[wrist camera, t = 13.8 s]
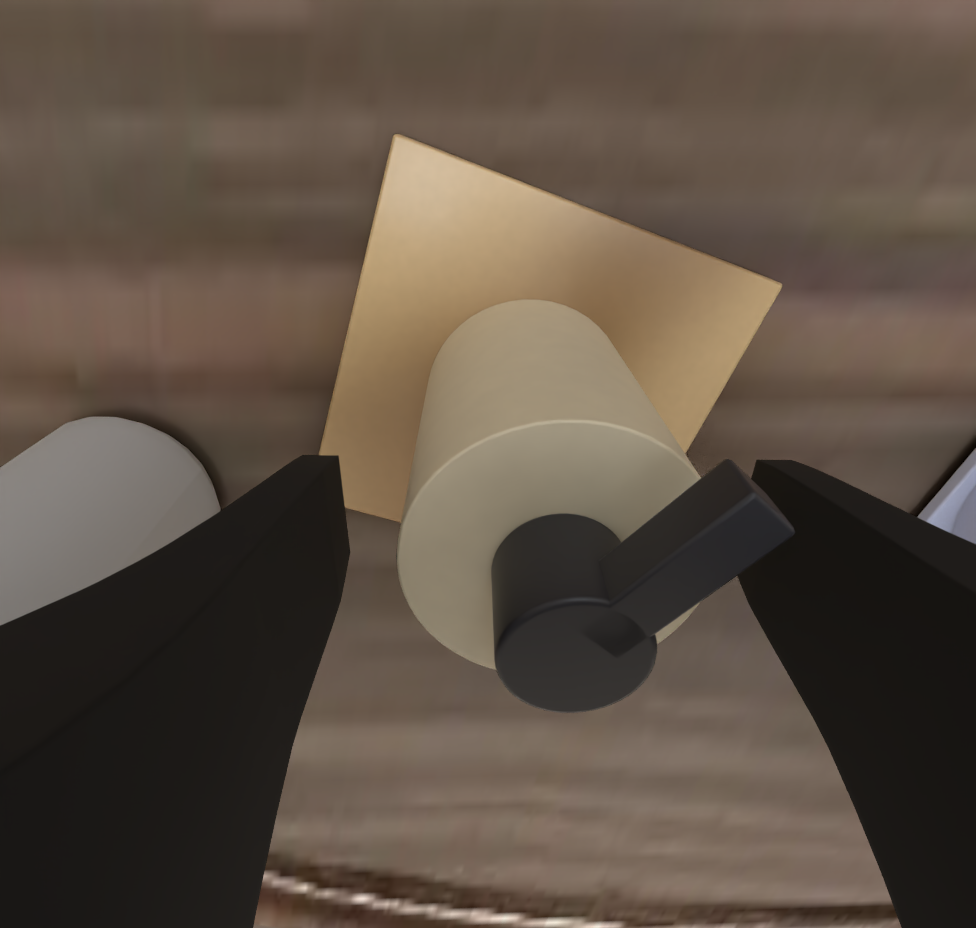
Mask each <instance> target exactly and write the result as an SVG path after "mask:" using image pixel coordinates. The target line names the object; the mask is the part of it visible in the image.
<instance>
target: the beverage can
mask: <svg viewBox="0 0 976 928" xmlns="http://www.w3.org/2000/svg"><path fill="white" fill-rule="evenodd" d="M220 510H221V508H220V505H219V502H218V499H217V496H216V493H215V490H214V487H213V484H212V481H211V479H210V478H209V476H208V474H207V472H206V470H205V469H204V467H203V465H202V464H201V463H200V461H199V460H198V459H197V458H196V457H195V456H194V455H193V454H192V453H191V452H190V451H189V449H188V448H186V447H185V446H183V445H182V444H181V443H179V442H178V441H177V440H175V439H174V438H172V437H171V436H170V435H168V434H166V433H163V432H161V431H159V430H157V429H155V428H152V427H150V426H148V425H146V424H143V423H139V422H135V421H131V420H127V419H123V418H118V417H87V418H83V419H79V420H75V421H71V422H68V423H65V424H64V425H62V426H61V427H59V428H58V429H56V430H55V431H53V432H52V433H50V434H49V435H47V436H46V437H44V438H43V439H42V440H40V441H39V442H37V443H36V444H34V445H33V446H31V447H30V448H28V449H27V450H25V451H24V452H22V453H21V454H20V455H18V456H17V457H15V458H14V459H12V460H11V461H9V462H8V463H6V464H5V465H3V466H2V467H0V625H2V624H5V623H7V622H10V621H12V620H14V619H16V618H19V617H21V616H23V615H25V614H28V613H30V612H32V611H34V610H37V609H39V608H41V607H43V606H46V605H48V604H50V603H53V602H55V601H57V600H59V599H62V598H64V597H66V596H68V595H71V594H73V593H75V592H77V591H80V590H82V589H84V588H86V587H88V586H90V585H92V584H94V583H96V582H99V581H101V580H102V579H104V578H106V577H108V576H110V575H112V574H114V573H116V572H118V571H120V570H122V569H124V568H126V567H128V566H130V565H132V564H133V563H135V562H137V561H139V560H141V559H143V558H144V557H146V556H148V555H150V554H152V553H154V552H155V551H157V550H159V549H160V548H162V547H164V546H166V545H167V544H169V543H171V542H172V541H174V540H175V539H177V538H179V537H180V536H182V535H183V534H185V533H187V532H188V531H190V530H191V529H193V528H194V527H196V526H198V525H199V524H201V523H202V522H204V521H206V520H207V519H209V518H210V517H212V516H214V515H215V514H217V513H218V512H220Z"/></svg>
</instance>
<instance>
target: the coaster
mask: <svg viewBox="0 0 976 928" xmlns="http://www.w3.org/2000/svg"><path fill="white" fill-rule="evenodd" d="M781 288H782V284H781V283H779V282H777V281H775V280H773V279H771V278H768V277H765V276H763V275H760V274H758V273H755V272H753V271H750V270H747V269H745V268H742V267H740V266H737V265H735V264H732V263H729V262H727V261H724V260H722V259H719V258H717V257H714V256H711V255H709V254H706V253H704V252H701V251H699V250H696V249H694V248H691V247H688V246H686V245H683V244H681V243H678V242H676V241H673V240H670V239H668V238H665V237H663V236H660V235H658V234H655V233H652V232H650V231H647V230H645V229H642V228H640V227H637V226H635V225H632V224H629V223H627V222H624V221H622V220H619V219H617V218H614V217H611V216H609V215H606V214H604V213H601V212H599V211H596V210H593V209H591V208H588V207H586V206H583V205H581V204H578V203H576V202H573V201H570V200H568V199H565V198H563V197H560V196H558V195H555V194H552V193H550V192H547V191H545V190H542V189H540V188H537V187H534V186H532V185H529V184H527V183H524V182H522V181H519V180H516V179H514V178H511V177H509V176H506V175H504V174H501V173H499V172H496V171H493V170H491V169H488V168H486V167H483V166H481V165H478V164H475V163H473V162H470V161H468V160H465V159H463V158H460V157H457V156H455V155H452V154H450V153H447V152H445V151H442V150H440V149H437V148H434V147H432V146H429V145H427V144H424V143H422V142H419V141H416V140H414V139H411V138H409V137H406V136H404V135H401V134H395V135H394V136H393V139H392V143H391V147H390V151H389V156H388V160H387V164H386V169H385V173H384V177H383V181H382V186H381V190H380V194H379V198H378V203H377V207H376V211H375V215H374V220H373V224H372V228H371V233H370V237H369V241H368V245H367V250H366V254H365V258H364V262H363V267H362V271H361V275H360V279H359V284H358V288H357V292H356V297H355V301H354V305H353V309H352V314H351V318H350V322H349V326H348V331H347V335H346V339H345V344H344V348H343V352H342V356H341V361H340V365H339V369H338V373H337V378H336V382H335V386H334V390H333V395H332V399H331V403H330V408H329V412H328V416H327V420H326V425H325V429H324V433H323V437H322V442H321V446H320V450H319V454H318V455H339V463H340V471H341V479H342V488H343V496H344V505H345V508H348V509H352V510H356V511H359V512H363V513H367V514H371V515H374V516H378V517H382V518H386V519H389V520H393V521H397V522H400V523H401V520H402V515H403V510H404V505H405V499H406V494H407V489H408V484H409V479H410V473H411V468H412V463H413V458H414V453H415V447H416V442H417V437H418V432H419V427H420V421H421V416H422V411H423V406H424V401H425V395H426V390H427V385H428V380H429V376H430V372H431V368H432V365H433V363H434V360H435V358H436V356H437V354H438V352H439V350H440V349H441V347H442V345H443V344H444V343H445V341H446V340H447V339H448V337H449V336H450V335H451V334H452V333H453V332H454V331H455V330H456V329H457V328H458V327H459V326H460V325H461V324H462V323H464V322H465V321H466V320H468V319H469V318H470V317H472V316H473V315H475V314H477V313H479V312H481V311H482V310H484V309H487V308H489V307H492V306H494V305H497V304H501V303H505V302H509V301H515V300H524V299H527V300H544V301H551V302H555V303H558V304H562V305H565V306H567V307H570V308H572V309H574V310H576V311H578V312H580V313H581V314H583V315H585V316H586V317H588V318H589V319H590V320H592V321H593V322H594V323H595V324H596V325H598V326H599V327H600V329H601V330H602V331H603V332H604V333H605V334H606V335H607V337H608V338H609V340H610V341H611V343H612V344H613V346H614V347H615V349H616V350H617V352H618V353H619V355H620V356H621V358H622V359H623V361H624V362H625V364H626V365H627V367H628V368H629V370H630V371H631V373H632V374H633V376H634V377H635V379H636V380H637V382H638V383H639V385H640V387H641V388H642V390H643V391H644V393H645V394H646V396H647V397H648V399H649V400H650V402H651V403H652V405H653V406H654V408H655V409H656V411H657V412H658V414H659V415H660V417H661V418H662V420H663V421H664V423H665V424H666V426H667V427H668V429H669V430H670V432H671V433H672V435H673V436H674V438H675V439H676V441H677V442H678V444H679V445H680V447H681V449H682V450H683V452H684V453H685V454H686V452H687V450H688V448H689V447H690V445H691V443H692V442H693V440H694V438H695V436H696V435H697V433H698V431H699V430H700V428H701V426H702V424H703V423H704V421H705V419H706V418H707V416H708V414H709V412H710V411H711V409H712V407H713V405H714V404H715V402H716V400H717V399H718V397H719V395H720V393H721V392H722V390H723V388H724V387H725V385H726V383H727V381H728V380H729V378H730V376H731V375H732V373H733V371H734V369H735V368H736V366H737V364H738V362H739V361H740V359H741V357H742V356H743V354H744V352H745V350H746V349H747V347H748V345H749V344H750V342H751V340H752V338H753V337H754V335H755V333H756V331H757V330H758V328H759V326H760V325H761V323H762V321H763V319H764V318H765V316H766V314H767V313H768V311H769V309H770V307H771V306H772V304H773V302H774V301H775V299H776V297H777V295H778V294H779V292H780V290H781Z"/></svg>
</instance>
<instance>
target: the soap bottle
mask: <svg viewBox="0 0 976 928" xmlns="http://www.w3.org/2000/svg"><path fill="white" fill-rule="evenodd" d="M794 534H795V530H794V527H793V526H792V525H791V523H790V522H789V521H788V520H787V518H786V517H785V516H784V515H783V514H782V512H781V511H780V510H779V509H778V507H777V506H776V505H775V504H774V502H773V501H772V500H771V499H770V498H769V496H768V495H767V494H766V493H765V492H764V491H763V490H762V489H761V488H760V487H759V486H758V485H757V484H756V483H755V482H754V481H753V480H752V479H751V478H750V477H749V476H748V475H746V474H745V473H744V472H743V471H742V470H741V469H740V468H739V467H738V466H737V465H736V464H735V463H734V462H733V461H732V460H729V459H725V460H723V461H722V462H720V463H719V464H718V465H717V466H715V467H714V468H713V469H712V470H711V471H709V472H708V473H707V474H706V475H704V476H703V477H702V478H701V477H700V476H699V474H698V473H697V471H696V470H695V468H694V467H693V465H692V464H691V462H690V461H689V459H688V458H687V456H686V455H685V453H684V452H683V450H682V449H681V447H680V445H679V444H678V442H677V441H676V439H675V438H674V436H673V435H672V433H671V432H670V430H669V429H668V427H667V426H666V424H665V423H664V421H663V420H662V418H661V417H660V415H659V414H658V412H657V411H656V409H655V408H654V406H653V405H652V403H651V402H650V400H649V399H648V397H647V396H646V394H645V393H644V391H643V390H642V388H641V387H640V385H639V383H638V382H637V380H636V379H635V377H634V376H633V374H632V373H631V371H630V370H629V368H628V367H627V365H626V364H625V362H624V361H623V359H622V358H621V356H620V355H619V353H618V352H617V350H616V349H615V347H614V346H613V344H612V343H611V341H610V340H609V338H608V337H607V335H606V334H605V333H604V332H603V331H602V330H601V329H600V327H599V326H598V325H596V324H595V323H594V322H593V321H592V320H590V319H589V318H588V317H586V316H585V315H583V314H581V313H580V312H578V311H576V310H574V309H572V308H570V307H567V306H565V305H562V304H558V303H555V302H551V301H544V300H527V299H524V300H515V301H509V302H505V303H501V304H497V305H494V306H492V307H489V308H487V309H484V310H482V311H481V312H479V313H477V314H475V315H473V316H472V317H470V318H469V319H468V320H466V321H465V322H464V323H462V324H461V325H460V326H459V327H458V328H457V329H456V330H455V331H454V332H453V333H452V334H451V335H450V336H449V337H448V339H447V340H446V341H445V343H444V344H443V345H442V347H441V349H440V350H439V352H438V354H437V356H436V358H435V360H434V363H433V365H432V368H431V372H430V376H429V380H428V385H427V390H426V395H425V401H424V406H423V411H422V416H421V421H420V427H419V432H418V437H417V442H416V447H415V453H414V458H413V463H412V468H411V473H410V479H409V484H408V489H407V494H406V499H405V505H404V510H403V515H402V520H401V525H400V530H399V536H398V543H397V554H396V558H397V571H398V576H399V580H400V584H401V588H402V591H403V593H404V595H405V598H406V600H407V602H408V605H409V606H410V608H411V610H412V611H413V613H414V614H415V616H416V618H417V619H418V620H419V622H420V623H421V624H422V625H423V626H424V627H425V629H426V630H427V631H428V632H429V633H430V634H431V635H432V636H433V637H435V638H436V639H437V640H438V641H439V642H440V643H442V644H443V645H444V646H446V647H447V648H449V649H450V650H452V651H453V652H455V653H456V654H458V655H460V656H462V657H464V658H466V659H468V660H470V661H472V662H475V663H477V664H479V665H482V666H484V667H488V668H491V669H495V670H497V673H498V675H499V677H500V679H501V681H502V682H503V684H504V685H505V687H506V688H507V689H508V690H509V691H510V692H511V693H512V694H513V695H514V696H515V697H517V698H518V699H519V700H521V701H523V702H525V703H526V704H528V705H531V706H533V707H536V708H539V709H543V710H546V711H552V712H560V713H578V712H586V711H592V710H596V709H600V708H604V707H606V706H609V705H612V704H614V703H616V702H618V701H620V700H622V699H624V698H625V697H627V696H629V695H630V694H631V693H633V692H634V691H635V690H637V689H638V688H639V687H640V686H641V685H642V684H643V682H644V681H645V680H646V679H647V678H648V676H649V674H650V673H651V671H652V668H653V666H654V664H655V659H656V654H657V644H658V643H660V642H661V641H662V640H664V639H665V638H666V637H667V636H669V635H670V634H671V633H673V632H674V631H675V630H676V629H677V628H678V627H679V626H680V625H681V624H682V623H683V622H684V621H685V620H686V619H687V618H688V617H689V616H690V615H691V613H692V612H693V611H694V610H695V608H696V607H697V606H698V605H699V603H700V602H701V601H702V600H704V599H705V598H706V597H708V596H709V595H711V594H712V593H713V592H715V591H716V590H718V589H719V588H720V587H722V586H723V585H725V584H726V583H727V582H729V581H730V580H732V579H733V578H734V577H736V576H737V575H739V574H740V573H741V572H743V571H744V570H746V569H747V568H749V567H750V566H751V565H753V564H754V563H756V562H757V561H758V560H760V559H761V558H763V557H764V556H765V555H767V554H768V553H770V552H771V551H772V550H774V549H775V548H777V547H778V546H779V545H781V544H782V543H784V542H785V541H786V540H788V539H789V538H791V537H792V536H793V535H794Z"/></svg>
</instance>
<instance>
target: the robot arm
mask: <svg viewBox="0 0 976 928" xmlns="http://www.w3.org/2000/svg"><path fill="white" fill-rule="evenodd" d="M751 479H752V480H753V481H754V482H755V483H756V484H757V485H758V486H759V487H760V488H761V489H762V490H763V491H764V492H765V493H766V494H767V495H768V496H769V498H770V499H771V500H772V501H773V502H774V504H775V505H776V506H777V507H778V509H779V510H780V511H781V512H782V514H783V515H784V516H785V517H786V518H787V520H788V521H789V522H790V523H791V525H792V526H793V527H794V530H795V534H794V535H793V536H792V537H791V538H789V539H788V540H786V541H785V542H784V543H782V544H781V545H779V546H778V547H777V548H775V549H774V550H772V551H771V552H770V553H768V554H767V555H765V556H764V557H763V558H761V559H760V560H758V561H757V562H756V563H754V564H753V565H751V566H750V567H749V568H747V569H746V570H744V571H743V572H741V573H740V574H739V575H738V578H739V581H740V584H741V586H742V588H743V591H744V593H745V596H746V598H747V601H748V603H749V605H750V607H751V609H752V611H753V612H754V614H755V616H756V618H757V620H758V622H759V623H760V625H761V627H762V629H763V631H764V632H765V634H766V636H767V638H768V640H769V641H770V643H771V645H772V647H773V648H774V650H775V652H776V654H777V655H778V657H779V659H780V661H781V662H782V664H783V666H784V668H785V669H786V671H787V673H788V675H789V676H790V678H791V680H792V682H793V683H794V685H795V687H796V689H797V690H798V692H799V694H800V696H801V697H802V699H803V701H804V703H805V704H806V706H807V708H808V710H809V711H810V713H811V715H812V717H813V718H814V720H815V722H816V724H817V726H818V728H819V730H820V732H821V734H822V736H823V738H824V740H825V742H826V744H827V746H828V748H829V750H830V752H831V755H832V757H833V759H834V761H835V764H836V766H837V768H838V770H839V773H840V775H841V777H842V780H843V782H844V784H845V786H846V789H847V791H848V793H849V795H850V798H851V800H852V802H853V804H854V807H855V809H856V812H857V814H858V817H859V819H860V822H861V824H862V826H863V829H864V831H865V834H866V836H867V839H868V841H869V844H870V846H871V849H872V851H873V854H874V856H875V858H876V861H877V863H878V866H879V868H880V871H881V873H882V876H883V878H884V881H885V884H886V886H887V889H888V892H889V895H890V897H891V900H892V903H893V905H894V908H895V911H896V914H897V916H898V919H899V922H900V924H901V927H902V928H976V448H975V449H974V451H973V452H972V453H971V454H970V455H969V456H968V458H967V459H966V460H965V461H964V462H963V464H962V465H961V466H960V467H959V468H958V469H957V471H956V472H955V473H954V474H953V475H952V476H951V478H950V479H949V480H948V481H947V482H946V484H945V485H944V486H943V487H942V488H941V489H940V491H939V492H938V493H937V494H936V495H935V496H934V498H933V499H932V500H931V501H930V502H929V503H928V505H927V506H926V507H925V508H924V509H923V511H922V512H921V513H920V514H919V515H918V516H917V517H915V516H913V515H911V514H909V513H907V512H905V511H903V510H901V509H899V508H897V507H894V506H892V505H890V504H888V503H886V502H884V501H882V500H880V499H878V498H876V497H874V496H872V495H870V494H868V493H866V492H864V491H862V490H860V489H857V488H855V487H853V486H851V485H849V484H847V483H845V482H843V481H841V480H839V479H837V478H834V477H832V476H830V475H828V474H826V473H823V472H821V471H819V470H817V469H814V468H812V467H809V466H807V465H804V464H801V463H798V462H796V461H792V460H757V461H756V464H755V468H754V471H753V475H752V478H751ZM349 555H350V547H349V539H348V530H347V522H346V513H345V505H344V496H343V488H342V479H341V471H340V463H339V455H302V456H300V457H299V458H297V459H295V460H293V461H292V462H290V463H289V464H287V465H286V466H284V467H283V468H282V469H280V470H279V471H277V472H276V473H274V474H273V475H272V476H270V477H269V478H267V479H266V480H265V481H263V482H262V483H260V484H259V485H257V486H256V487H255V488H253V489H252V490H250V491H249V492H247V493H246V494H245V495H243V496H242V497H240V498H239V499H237V500H236V501H234V502H233V503H232V504H230V505H229V506H227V507H226V508H224V509H223V510H221V511H220V512H218V513H217V514H215V515H214V516H212V517H210V518H209V519H207V520H206V521H204V522H202V523H201V524H199V525H198V526H196V527H194V528H193V529H191V530H190V531H188V532H187V533H185V534H183V535H182V536H180V537H179V538H177V539H175V540H174V541H172V542H171V543H169V544H167V545H166V546H164V547H162V548H160V549H159V550H157V551H155V552H154V553H152V554H150V555H148V556H146V557H144V558H143V559H141V560H139V561H137V562H135V563H133V564H132V565H130V566H128V567H126V568H124V569H122V570H120V571H118V572H116V573H114V574H112V575H110V576H108V577H106V578H104V579H102V580H101V581H99V582H96V583H94V584H92V585H90V586H88V587H86V588H84V589H82V590H80V591H77V592H75V593H73V594H71V595H68V596H66V597H64V598H62V599H59V600H57V601H55V602H53V603H50V604H48V605H46V606H43V607H41V608H39V609H37V610H34V611H32V612H30V613H28V614H25V615H23V616H21V617H19V618H16V619H14V620H12V621H10V622H7V623H5V624H2V625H0V928H253V925H254V920H255V915H256V910H257V905H258V900H259V895H260V889H261V884H262V880H263V875H264V870H265V866H266V861H267V856H268V852H269V847H270V843H271V838H272V833H273V829H274V824H275V819H276V815H277V810H278V806H279V802H280V797H281V793H282V789H283V784H284V780H285V776H286V772H287V767H288V763H289V759H290V754H291V750H292V746H293V743H294V739H295V736H296V733H297V729H298V726H299V722H300V719H301V716H302V713H303V710H304V707H305V704H306V701H307V699H308V696H309V693H310V690H311V687H312V684H313V681H314V678H315V675H316V672H317V669H318V667H319V664H320V661H321V658H322V655H323V652H324V649H325V646H326V643H327V640H328V637H329V634H330V632H331V629H332V626H333V623H334V620H335V617H336V614H337V611H338V608H339V604H340V601H341V596H342V592H343V587H344V582H345V577H346V571H347V566H348V560H349Z"/></svg>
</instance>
